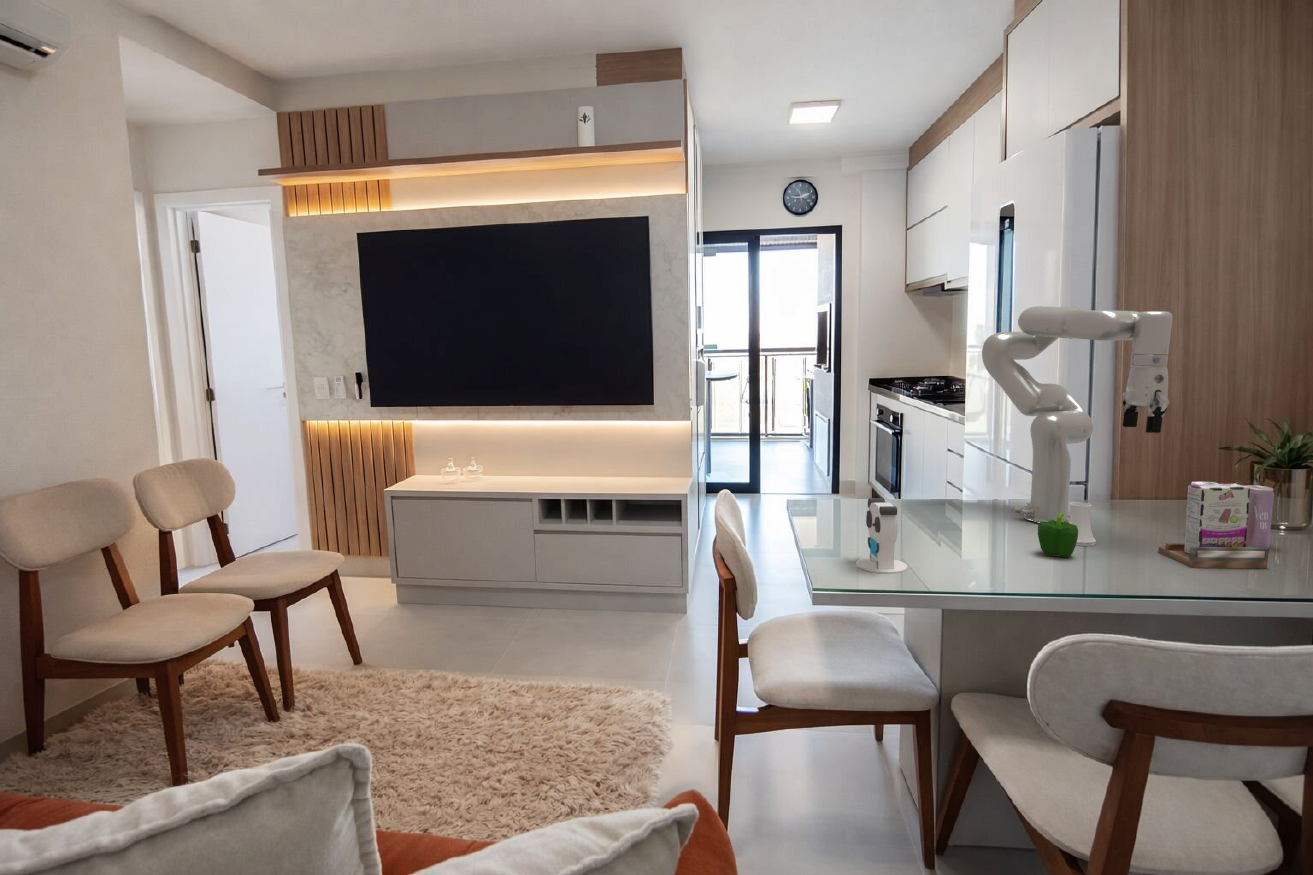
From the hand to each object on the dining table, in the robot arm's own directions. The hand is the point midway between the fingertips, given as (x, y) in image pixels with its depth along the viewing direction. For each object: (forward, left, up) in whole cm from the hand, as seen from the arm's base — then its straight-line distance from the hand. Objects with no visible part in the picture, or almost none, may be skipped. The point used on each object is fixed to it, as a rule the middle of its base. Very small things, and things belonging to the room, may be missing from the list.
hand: (1140, 429), depth 177 cm
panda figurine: (-69, -23, -29) cm, 78 cm away
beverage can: (+26, -4, -29) cm, 39 cm away
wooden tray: (+8, -16, -29) cm, 34 cm away
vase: (-14, -1, -29) cm, 32 cm away
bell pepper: (-25, -13, -29) cm, 40 cm away
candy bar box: (+8, -17, -28) cm, 33 cm away
